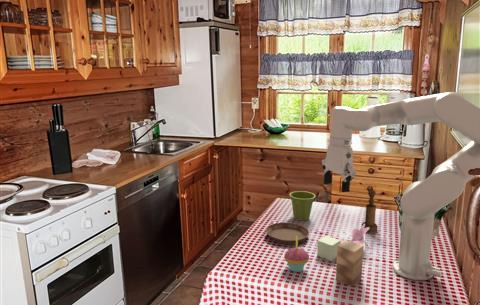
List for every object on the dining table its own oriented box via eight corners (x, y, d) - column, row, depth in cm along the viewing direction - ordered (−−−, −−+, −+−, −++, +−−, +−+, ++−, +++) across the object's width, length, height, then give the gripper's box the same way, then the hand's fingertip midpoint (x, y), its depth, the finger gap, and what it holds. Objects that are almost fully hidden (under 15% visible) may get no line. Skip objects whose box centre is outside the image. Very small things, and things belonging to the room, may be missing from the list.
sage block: (339, 255, 145) (340, 240, 144) (331, 260, 141) (331, 245, 140) (326, 250, 149) (326, 235, 148) (317, 255, 145) (317, 240, 144)
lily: (354, 241, 159) (344, 222, 156) (382, 237, 152) (372, 217, 150) (348, 261, 150) (337, 242, 147) (377, 258, 143) (367, 238, 140)
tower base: (361, 279, 128) (362, 262, 127) (352, 286, 124) (353, 269, 123) (345, 272, 133) (346, 256, 131) (335, 279, 128) (336, 262, 127)
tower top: (362, 262, 127) (363, 245, 126) (353, 269, 123) (354, 251, 122) (346, 256, 131) (347, 240, 130) (336, 262, 127) (337, 245, 126)
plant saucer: (312, 232, 166) (312, 225, 165) (303, 250, 150) (304, 242, 149) (272, 226, 172) (273, 219, 172) (260, 242, 156) (260, 235, 155)
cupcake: (283, 262, 140) (283, 231, 137) (307, 262, 139) (308, 231, 137) (285, 274, 131) (286, 242, 129) (310, 275, 131) (311, 242, 128)
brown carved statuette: (380, 230, 166) (383, 190, 162) (370, 234, 163) (373, 193, 159) (367, 225, 172) (370, 186, 168) (358, 229, 168) (360, 189, 164)
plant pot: (310, 224, 173) (311, 200, 171) (285, 220, 178) (286, 196, 176) (317, 215, 184) (318, 192, 181) (293, 211, 189) (293, 189, 186)
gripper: (365, 145, 132) (360, 193, 136) (332, 136, 147) (329, 179, 151) (348, 147, 128) (344, 196, 132) (316, 137, 143) (313, 182, 147)
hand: (336, 187), depth 142 cm, fingers open, 9 cm apart
